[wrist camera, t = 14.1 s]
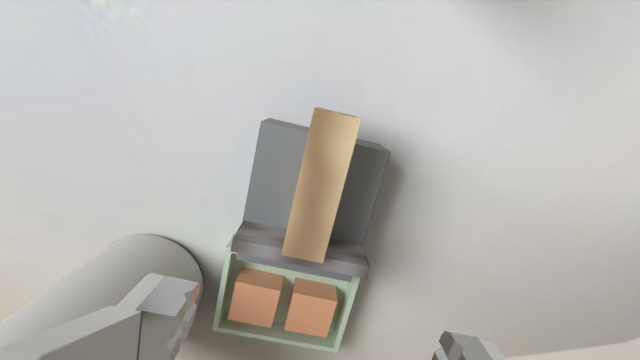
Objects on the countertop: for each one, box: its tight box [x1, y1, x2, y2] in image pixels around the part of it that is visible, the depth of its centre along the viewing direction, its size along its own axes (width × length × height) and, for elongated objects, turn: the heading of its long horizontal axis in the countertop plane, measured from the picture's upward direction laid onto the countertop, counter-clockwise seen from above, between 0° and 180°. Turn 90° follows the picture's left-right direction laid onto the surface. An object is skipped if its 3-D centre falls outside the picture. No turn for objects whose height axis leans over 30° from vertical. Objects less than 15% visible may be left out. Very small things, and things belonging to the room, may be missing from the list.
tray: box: [212, 235, 361, 353], centre depth 35 cm, size 15×11×3 cm
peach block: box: [284, 277, 337, 338], centre depth 35 cm, size 5×5×3 cm
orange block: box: [228, 267, 283, 328], centre depth 34 cm, size 5×5×3 cm
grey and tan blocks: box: [231, 107, 370, 279], centre depth 25 cm, size 12×13×5 cm
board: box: [236, 118, 390, 282], centre depth 31 cm, size 12×14×5 cm
